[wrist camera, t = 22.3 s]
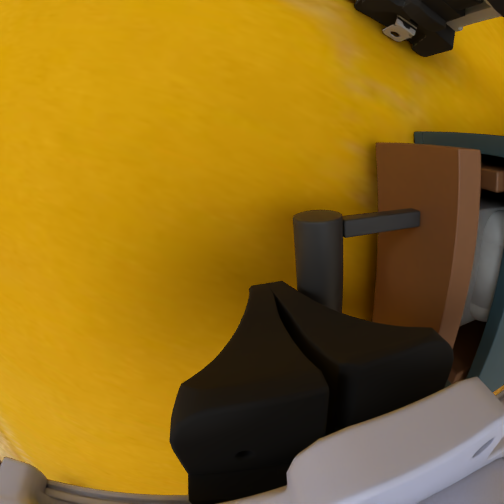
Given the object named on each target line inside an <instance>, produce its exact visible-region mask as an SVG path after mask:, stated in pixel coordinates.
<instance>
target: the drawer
mask: <svg viewBox="0 0 504 504" xmlns="http://www.w3.org/2000/svg"><path fill="white" fill-rule="evenodd" d="M376 158H377V180H378V212H373V213H364V214H356V215H348V216H342V214H341V213H339V212H336V211H331V210H311V211H305V212H301V213H298V214H296V215H294V216H293V228H294V242H295V257H296V273H297V291H299V292H300V293H302V294H304V295H305V296H307V297H309V298H310V299H312V300H314V301H316V302H318V303H320V304H322V305H324V306H326V307H328V308H330V309H333V310H335V311H338V312H340V313H342V298H343V237H345V238H347V237H353V236H360V235H367V234H373V233H378V248H377V270H376V285H375V298H374V309H373V319H372V322H375V323H381V324H387V325H394V326H403V327H432V328H433V329H434V330H435V331H436V332H437V333H438V334H439V335H440V336H441V337H442V338H444V339H445V340H446V341H447V342H448V343H449V344H450V346H451V348H452V349H453V356H454V360H453V364H452V368H451V372H450V374H449V377H448V380H449V381H450V383H451V384H454V383H456V382H458V381H461V380H463V379H465V378H466V377H467V375H468V372H469V370H470V368H471V365H472V362H473V360H474V357H475V355H476V352H477V349H478V346H479V344H480V341H481V338H482V335H483V332H484V329H485V325H486V322H482V321H478V320H473V321H471V322H469V323H467V324H464V325H462V326H459V325H460V322H461V318H462V314H463V310H464V306H465V302H466V297H467V293H468V288H469V283H470V278H471V272H472V267H473V261H474V254H475V247H476V239H477V231H478V221H479V208H480V197H490V198H494V199H497V200H500V201H503V202H504V161H491V160H481V151H480V150H477V149H469V148H460V147H451V146H440V145H427V144H412V143H376Z"/></svg>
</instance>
